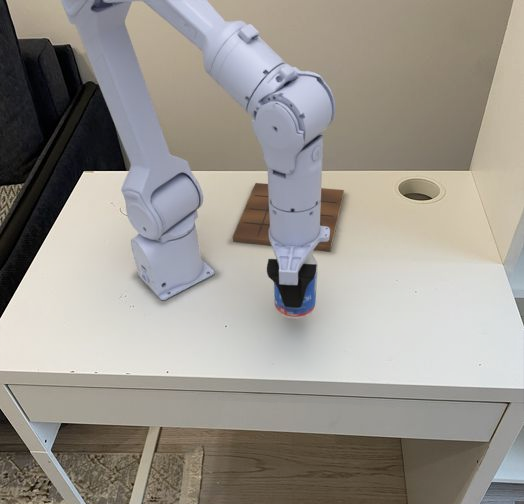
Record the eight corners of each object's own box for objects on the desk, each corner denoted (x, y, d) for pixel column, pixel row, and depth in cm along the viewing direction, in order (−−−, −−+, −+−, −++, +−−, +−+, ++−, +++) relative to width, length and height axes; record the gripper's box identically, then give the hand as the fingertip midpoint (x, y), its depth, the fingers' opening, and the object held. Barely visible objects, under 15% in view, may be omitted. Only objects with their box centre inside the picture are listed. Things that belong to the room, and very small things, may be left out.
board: (330, 251, 86) (330, 246, 85) (233, 241, 89) (232, 236, 88) (343, 194, 96) (344, 189, 95) (255, 187, 99) (255, 182, 98)
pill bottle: (275, 321, 70) (272, 262, 63) (274, 292, 74) (271, 233, 66) (317, 319, 70) (320, 260, 63) (314, 290, 74) (316, 231, 66)
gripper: (327, 240, 54) (322, 332, 65) (335, 163, 64) (330, 254, 74) (257, 236, 55) (263, 328, 65) (275, 161, 65) (278, 252, 75)
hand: (295, 289), depth 70 cm, fingers closed on pill bottle, 5 cm apart
